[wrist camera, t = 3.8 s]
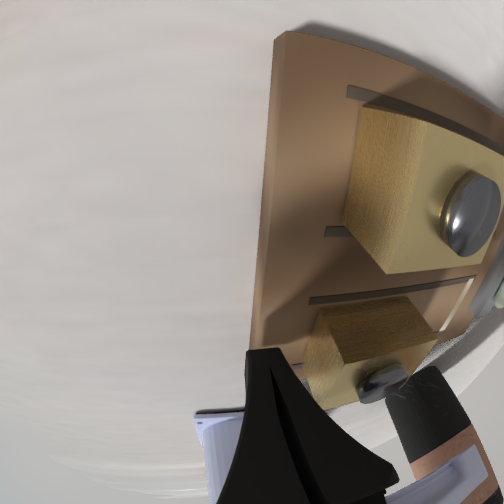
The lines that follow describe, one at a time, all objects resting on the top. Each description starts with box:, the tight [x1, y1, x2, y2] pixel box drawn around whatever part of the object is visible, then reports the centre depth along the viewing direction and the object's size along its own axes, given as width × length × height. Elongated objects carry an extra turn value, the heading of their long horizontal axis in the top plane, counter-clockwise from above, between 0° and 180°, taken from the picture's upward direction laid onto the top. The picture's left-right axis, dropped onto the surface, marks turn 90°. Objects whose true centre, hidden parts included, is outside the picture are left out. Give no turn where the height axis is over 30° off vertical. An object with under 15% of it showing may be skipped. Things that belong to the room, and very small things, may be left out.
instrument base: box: [249, 31, 504, 380], centre depth 11 cm, size 16×18×4 cm
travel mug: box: [385, 366, 503, 504], centre depth 16 cm, size 8×8×20 cm
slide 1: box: [341, 107, 504, 274], centre depth 7 cm, size 4×5×4 cm
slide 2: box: [302, 296, 438, 410], centre depth 11 cm, size 4×5×4 cm
